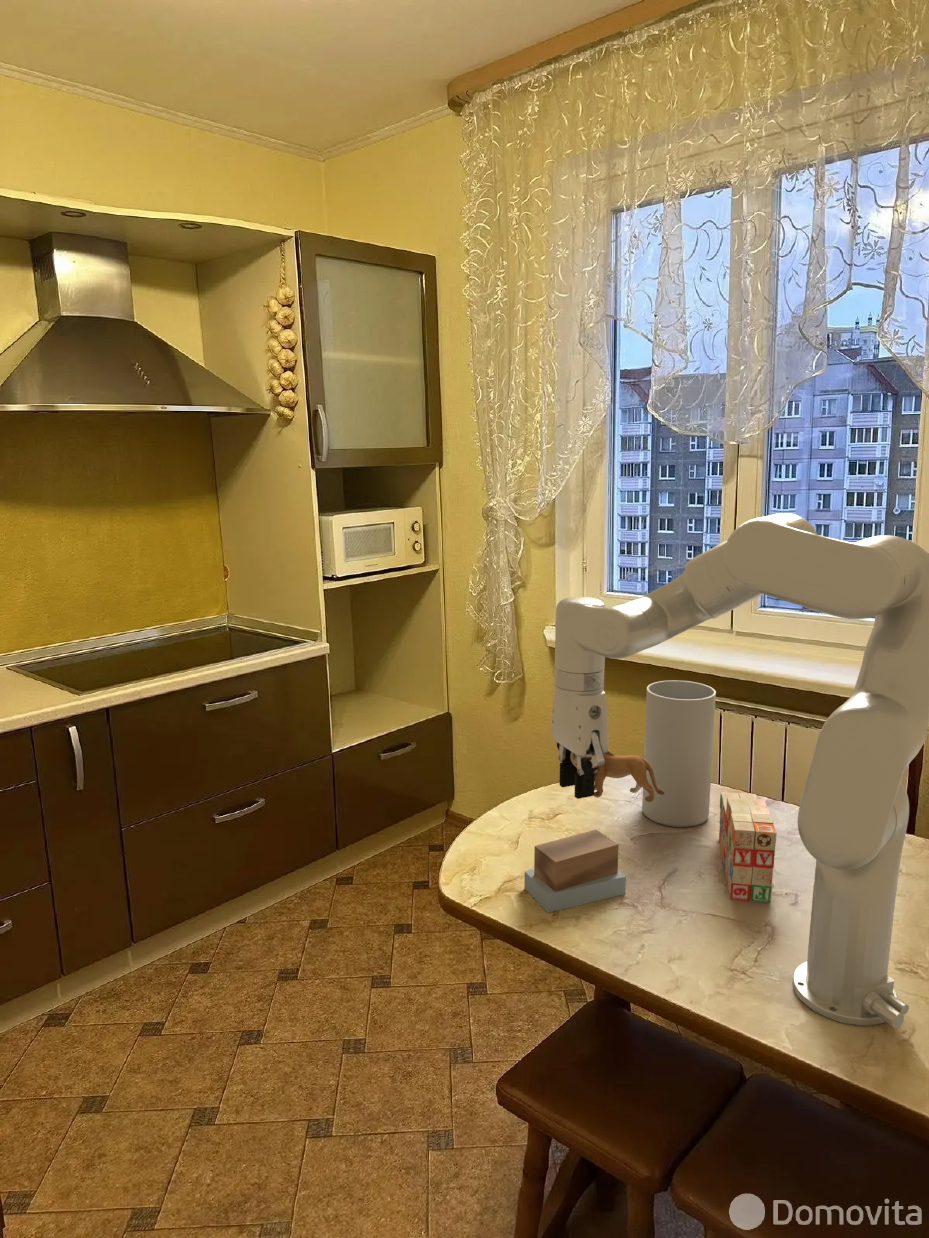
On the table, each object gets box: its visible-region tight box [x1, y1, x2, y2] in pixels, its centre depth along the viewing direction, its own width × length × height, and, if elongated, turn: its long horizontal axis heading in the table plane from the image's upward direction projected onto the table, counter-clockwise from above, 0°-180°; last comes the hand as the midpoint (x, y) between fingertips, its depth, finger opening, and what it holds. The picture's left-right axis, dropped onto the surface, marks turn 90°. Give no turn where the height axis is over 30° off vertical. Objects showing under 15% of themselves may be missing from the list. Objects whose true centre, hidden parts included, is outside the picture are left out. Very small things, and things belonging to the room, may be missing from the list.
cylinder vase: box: [641, 679, 717, 828], centre depth 165 cm, size 12×12×25 cm
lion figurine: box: [570, 750, 665, 802], centre depth 135 cm, size 15×5×9 cm, turn 84°
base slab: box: [524, 868, 627, 913], centre depth 139 cm, size 8×14×3 cm, turn 113°
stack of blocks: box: [718, 791, 777, 904], centre depth 145 cm, size 21×6×12 cm, turn 169°
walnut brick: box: [533, 829, 620, 892], centre depth 139 cm, size 6×12×5 cm, turn 118°
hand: (576, 789), depth 136 cm, fingers closed on lion figurine, 4 cm apart
